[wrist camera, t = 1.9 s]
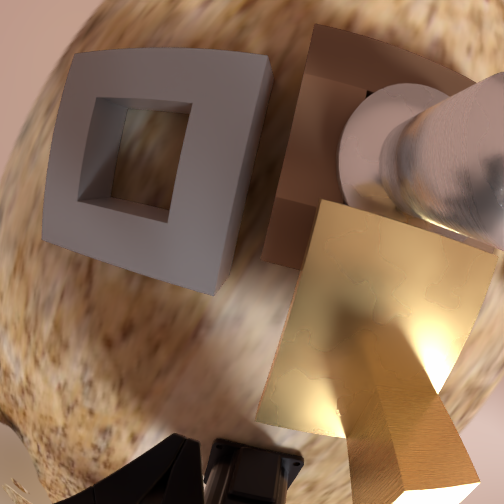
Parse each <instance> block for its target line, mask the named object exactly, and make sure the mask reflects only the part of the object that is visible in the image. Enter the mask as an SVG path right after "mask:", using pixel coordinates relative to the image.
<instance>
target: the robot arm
mask: <svg viewBox="0 0 504 504" xmlns="http://www.w3.org/2000/svg"><path fill="white" fill-rule="evenodd" d="M303 465H304V458H302V457H300V456H295V455H289V454H284V453H279V452H274V451H269V450H264V449H260V448H255V447H251V446H247V445H243V444H239V443H235V442H231V441H227V440H224V439H215V440H214V442H213V445H212V449H211V453H210V457H209V461H208V465H207V469H206V473H205V477H204V480H203V474H202V460H201V444H200V441H198V440H195V439H191V438H186V437H185V436H183V435H180V434H177V433H173V434H171V435H170V436H169V437H167V438H166V439H164V440H163V441H161V442H160V443H159V444H157V445H156V446H154V447H153V448H151V449H150V450H148V451H147V452H145V453H144V454H142V455H141V456H139V457H138V458H136V459H135V460H133V461H131V462H130V463H128V464H127V465H125V466H124V467H122V468H120V469H119V470H117V471H116V472H114V473H112V474H111V475H109V476H107V477H106V478H104V479H102V480H101V481H99V482H97V483H96V484H94V485H93V486H90V487H88V488H87V489H85V490H83V491H81V492H79V493H77V494H75V495H73V496H71V497H69V498H67V499H64V500H62V501H59V502H57V503H54V504H285V503H286V494H287V490H288V488H289V487H290V485H291V484H292V482H293V481H294V479H295V478H296V476H297V475H298V473H299V472H300V470H301V468H302V467H303ZM203 482H204V483H205V484H206V487H205V490H204V487H203Z"/></svg>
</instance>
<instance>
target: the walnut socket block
mask: <svg viewBox="0 0 504 504" xmlns="http://www.w3.org/2000/svg"><path fill="white" fill-rule="evenodd" d="M404 83H412V84H420V85H425V86H429V87H431V88H434V89H437V90H439V91H441V92H443V93H444V94H446V95H448V96H449V97H451V96H453V95H455V94H457V93H459V92H461V91H463V90H465V89H466V88H468V87H470V86H472V85H474V84H476V82H474V81H472V80H470V79H469V78H467V77H465V76H463V75H461V74H459V73H457V72H455V71H453V70H451V69H449V68H447V67H445V66H442V65H440V64H438V63H436V62H434V61H431V60H429V59H427V58H424V57H422V56H419V55H417V54H415V53H412V52H409V51H407V50H404V49H402V48H399V47H396V46H393V45H391V44H388V43H385V42H382V41H379V40H376V39H372V38H369V37H366V36H363V35H359V34H356V33H352V32H348V31H344V30H341V29H337V28H332V27H328V26H324V25H319V24H315V25H314V29H313V34H312V38H311V43H310V47H309V52H308V56H307V61H306V65H305V70H304V74H303V79H302V83H301V88H300V92H299V97H298V101H297V105H296V110H295V114H294V118H293V123H292V127H291V132H290V136H289V140H288V145H287V149H286V153H285V157H284V162H283V166H282V170H281V175H280V179H279V183H278V187H277V192H276V196H275V200H274V204H273V209H272V213H271V217H270V221H269V225H268V230H267V234H266V238H265V242H264V246H263V250H262V255H261V259H260V260H263V261H266V262H270V263H274V264H278V265H282V266H286V267H290V268H294V269H298V270H301V266H302V263H303V259H304V255H305V252H306V248H307V244H308V240H309V237H310V233H311V229H312V225H313V221H314V217H315V214H316V210H317V206H318V202H319V198H323V199H326V200H330V201H334V202H337V203H341V204H343V198H342V195H341V192H340V189H339V185H338V181H337V174H336V152H337V146H338V142H339V138H340V135H341V132H342V130H343V128H344V126H345V124H346V122H347V121H348V119H349V117H350V116H351V115H352V113H353V112H354V111H355V110H356V109H357V107H358V106H359V105H360V104H361V103H362V102H363V101H364V100H365V99H366V98H367V97H369V96H370V95H371V94H373V93H375V92H376V91H378V90H380V89H382V88H385V87H387V86H391V85H395V84H404ZM463 243H466V244H468V245H471V246H474V247H476V248H479V249H482V250H484V251H487V252H489V253H491V254H493V251H494V247H493V246H490V245H488V244H485V243H483V242H481V241H478V240H475V239H473V238H470V237H468V238H467V239H466V240H465V241H464V242H463Z"/></svg>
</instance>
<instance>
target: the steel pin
mask: <svg viewBox="0 0 504 504" xmlns="http://www.w3.org/2000/svg"><path fill="white" fill-rule="evenodd" d="M336 174H337V181H338V185H339V189H340V192H341V195H342V198H343V200H344V203H345V205H348V206H352V207H355V208H358V209H362V210H365V211H369V212H372V213H375V214H379V215H382V216H385V217H389V218H392V219H395V220H398V221H401V222H404V223H408V224H411V225H414V226H417V227H420V228H423V229H426V230H429V231H432V232H435V233H438V234H440V235H443V236H446V237H449V238H452V239H455V240H457V241H460V242H464V241H465V240H466V239H467V238H468V237H470V238H473V239H475V240H478V241H481V242H483V243H485V244H488V245H490V246H493V247H495V248H498V249H500V250H502V251H504V72H500V73H497V74H495V75H492V76H490V77H488V78H486V79H484V80H482V81H480V82H478V83H476V84H474V85H472V86H470V87H468V88H466V89H465V90H463V91H461V92H459V93H457V94H455V95H453V96H451V97H449V96H448V95H446V94H444V93H443V92H441V91H439V90H437V89H434V88H431V87H429V86H425V85H420V84H412V83H404V84H395V85H391V86H387V87H385V88H382V89H380V90H378V91H376V92H375V93H373V94H371V95H370V96H369V97H367V98H366V99H365V100H364V101H363V102H362V103H361V104H360V105H359V106H358V107H357V109H356V110H355V111H354V112H353V113H352V115H351V116H350V117H349V119H348V121H347V122H346V124H345V126H344V128H343V130H342V132H341V135H340V138H339V142H338V146H337V152H336Z"/></svg>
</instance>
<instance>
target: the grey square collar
mask: <svg viewBox="0 0 504 504" xmlns="http://www.w3.org/2000/svg"><path fill="white" fill-rule="evenodd" d="M273 82H274V76H273V72H272V69H271V65H270V61H269V57H268V56H267V55H260V54H253V53H245V52H236V51H227V50H215V49H200V48H128V49H113V50H102V51H92V52H84V53H76V54H75V55H74V58H73V61H72V64H71V67H70V70H69V73H68V77H67V80H66V83H65V87H64V91H63V94H62V98H61V102H60V106H59V110H58V114H57V119H56V124H55V128H54V133H53V138H52V144H51V150H50V156H49V162H48V169H47V176H46V185H45V194H44V205H43V219H42V240H44V241H46V242H49V243H52V244H54V245H57V246H60V247H63V248H65V249H68V250H71V251H74V252H77V253H79V254H82V255H85V256H88V257H91V258H94V259H97V260H100V261H102V262H105V263H108V264H111V265H114V266H117V267H120V268H123V269H126V270H129V271H133V272H136V273H139V274H142V275H145V276H148V277H151V278H154V279H158V280H161V281H164V282H167V283H171V284H174V285H177V286H181V287H184V288H187V289H191V290H194V291H197V292H201V293H204V294H208V295H211V296H214V295H215V294H216V293H217V291H218V290H219V289H220V287H221V286H222V285H223V283H224V282H225V281H226V279H227V278H228V277H229V275H230V271H231V266H232V261H233V257H234V252H235V248H236V243H237V238H238V234H239V229H240V225H241V220H242V216H243V211H244V207H245V202H246V198H247V193H248V189H249V185H250V180H251V176H252V171H253V167H254V163H255V158H256V154H257V150H258V145H259V141H260V137H261V133H262V128H263V124H264V120H265V116H266V111H267V107H268V103H269V99H270V95H271V91H272V86H273ZM128 109H143V110H155V111H165V112H175V113H184V114H190V116H189V120H188V125H187V129H186V133H185V137H184V142H183V146H182V151H181V155H180V160H179V165H178V170H177V175H176V180H175V185H174V190H173V195H172V201H171V206H170V210H166V209H162V208H158V207H153V206H149V205H145V204H140V203H136V202H131V201H127V200H123V199H118V198H114V197H111V191H112V185H113V178H114V172H115V167H116V161H117V156H118V151H119V146H120V141H121V136H122V132H123V127H124V123H125V118H126V114H127V110H128Z"/></svg>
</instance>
